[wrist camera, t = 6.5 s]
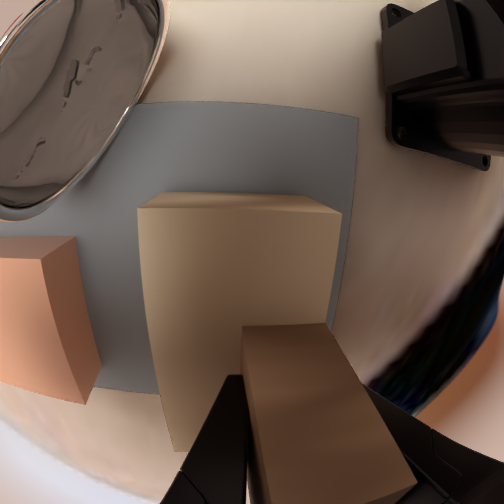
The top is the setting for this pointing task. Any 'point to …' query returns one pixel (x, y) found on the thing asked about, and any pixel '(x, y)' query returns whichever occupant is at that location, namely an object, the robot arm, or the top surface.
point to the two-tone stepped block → (262, 343)
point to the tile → (45, 319)
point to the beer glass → (68, 90)
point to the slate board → (187, 180)
